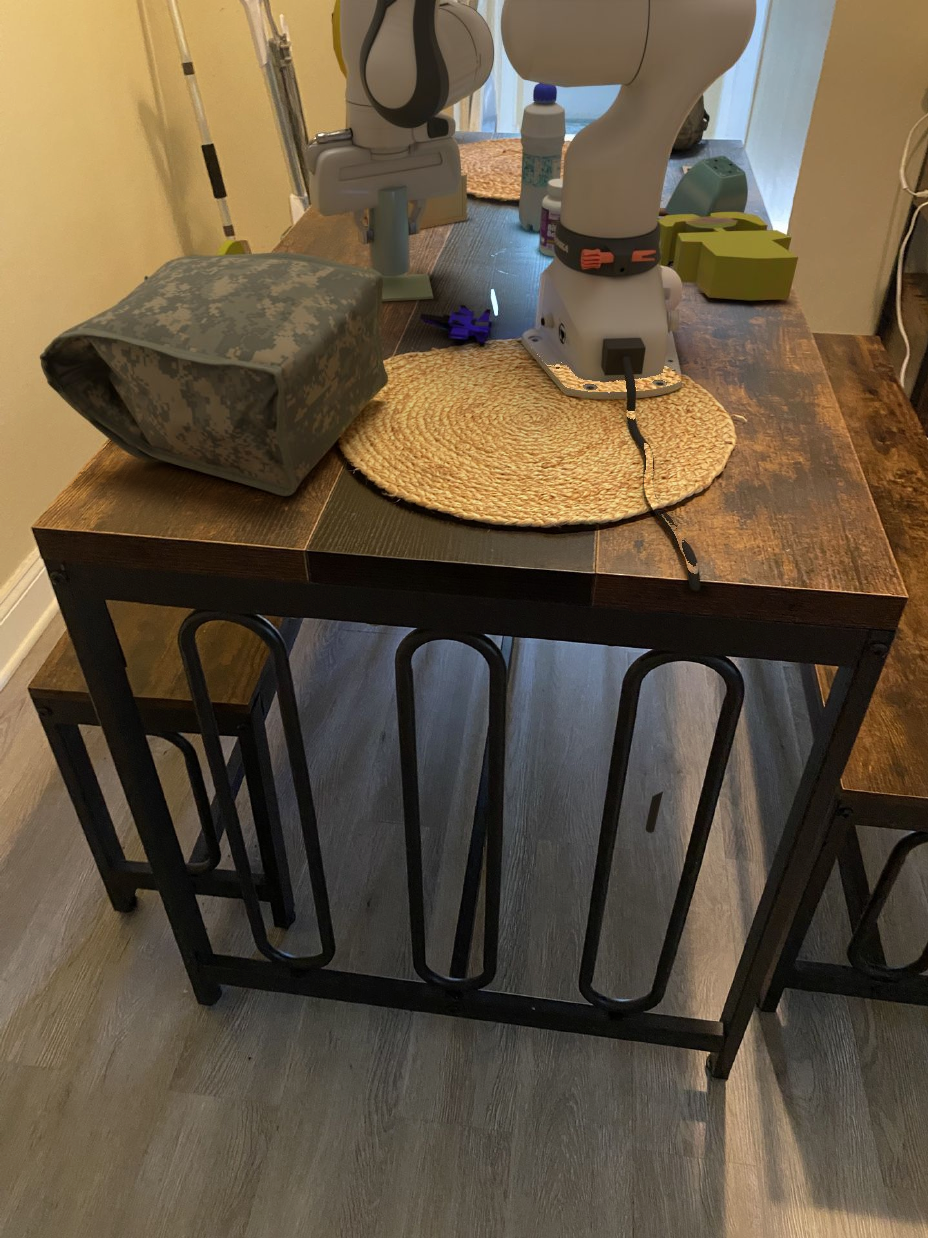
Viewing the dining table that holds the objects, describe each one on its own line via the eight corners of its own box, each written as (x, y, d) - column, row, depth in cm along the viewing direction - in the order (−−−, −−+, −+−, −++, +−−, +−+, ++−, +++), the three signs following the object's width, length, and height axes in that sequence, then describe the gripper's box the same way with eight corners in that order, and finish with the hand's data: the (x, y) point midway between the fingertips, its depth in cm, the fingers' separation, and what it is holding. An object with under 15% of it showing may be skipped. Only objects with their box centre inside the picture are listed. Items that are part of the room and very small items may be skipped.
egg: (683, 282, 120) (689, 257, 112) (675, 328, 119) (680, 305, 112) (637, 277, 120) (639, 251, 113) (629, 322, 120) (630, 299, 113)
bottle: (556, 235, 141) (566, 88, 127) (513, 232, 142) (518, 86, 128) (562, 221, 146) (571, 77, 132) (520, 218, 147) (525, 75, 133)
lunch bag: (390, 400, 103) (179, 349, 109) (386, 259, 91) (151, 211, 97) (295, 517, 88) (57, 450, 94) (276, 367, 76) (7, 302, 82)
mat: (433, 298, 123) (433, 295, 123) (358, 302, 122) (358, 299, 122) (428, 276, 129) (427, 273, 129) (356, 279, 128) (356, 276, 128)
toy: (644, 256, 135) (694, 307, 120) (650, 215, 131) (702, 262, 116) (746, 250, 137) (807, 299, 122) (753, 210, 133) (818, 255, 118)
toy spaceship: (495, 305, 117) (493, 321, 118) (426, 297, 117) (425, 314, 119) (486, 339, 109) (485, 356, 111) (413, 330, 110) (412, 347, 111)
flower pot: (764, 176, 135) (739, 232, 142) (726, 145, 138) (703, 201, 146) (722, 184, 131) (698, 241, 138) (684, 152, 135) (662, 209, 142)
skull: (737, 79, 162) (674, 12, 168) (651, 143, 164) (593, 74, 171) (740, 153, 180) (683, 90, 186) (663, 209, 183) (609, 145, 189)
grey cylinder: (416, 271, 124) (414, 187, 116) (380, 279, 122) (375, 193, 115) (393, 251, 129) (390, 169, 121) (358, 258, 127) (352, 175, 119)
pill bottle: (545, 259, 133) (549, 189, 127) (534, 246, 137) (537, 178, 131) (580, 255, 134) (586, 186, 128) (568, 243, 138) (573, 174, 132)
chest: (466, 219, 146) (466, 174, 141) (389, 234, 141) (387, 187, 137) (423, 192, 156) (421, 149, 152) (349, 205, 151) (346, 161, 147)
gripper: (313, 141, 107) (325, 260, 116) (467, 118, 114) (467, 232, 123) (294, 128, 111) (307, 243, 120) (444, 107, 118) (445, 217, 127)
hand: (389, 237), depth 122 cm, fingers closed on grey cylinder, 5 cm apart
